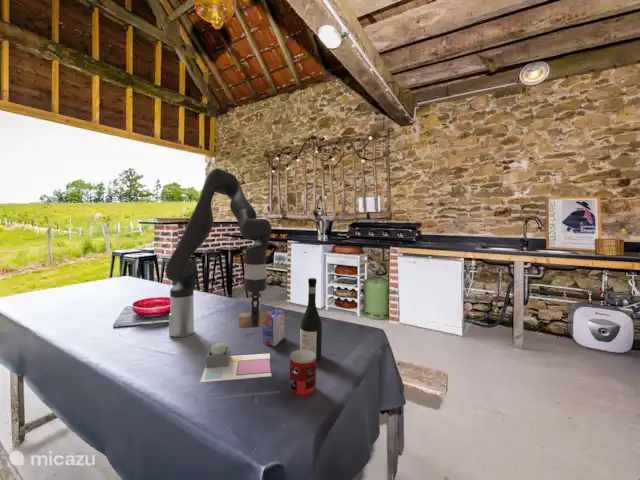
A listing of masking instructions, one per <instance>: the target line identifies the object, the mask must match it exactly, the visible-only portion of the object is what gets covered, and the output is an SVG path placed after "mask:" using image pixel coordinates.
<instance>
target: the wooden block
mask: <svg viewBox="0 0 640 480" xmlns="http://www.w3.org/2000/svg"><path fill="white" fill-rule="evenodd" d="M271 311H272V310H270V311H269V310H268V311H259V326H258V327H257V328H263V327H272V314H271ZM255 313H258V312H255ZM251 314H252V312H239V314H238V315H239V316H238V329H253V328H256V327H252V316H251Z"/></svg>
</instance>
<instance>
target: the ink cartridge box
mask: <svg viewBox="0 0 640 480" xmlns="http://www.w3.org/2000/svg"><path fill="white" fill-rule="evenodd" d="M269 311H271V314H272V327H262V344H263V345H267V346H273V347H275V346H277V344H279V343H280V342H281V341H282V340H283V339H285V311H284V310H281V309H276V308H275V307H274V306H271V307H269V308H268V312H269Z"/></svg>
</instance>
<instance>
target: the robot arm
mask: <svg viewBox="0 0 640 480" xmlns="http://www.w3.org/2000/svg"><path fill="white" fill-rule="evenodd" d="M215 193H217V194H220V195H223V196H227V197H228V198H229V199H230V205H229V207H230V210H231V212H232V214H233V216H234V217H235V218H236V220H237V223H238V226H239V227H238V228H239V232H240V233H239V234H240V235H241V236H242V238H243V239H246V240H256V242H255V244H253V245H250V246H247V247H246V248H245V253H244V257H245V258H244V260H245V261H244V262H245V264H244V272H243V273H244V278H243V279H244V290H245V291H246V292H251V293H250V294H249V303H250V304H249V305H250V307H249V308H250V310H251V313H252V314H251V316H252V327H255V328H259V327H258V326H259V312H260V310H261V302H262V293H260V292H263V291H266V290H267V281H268V280H267V279H268V278H267V276H268V275H267V273H268V272H267V271H268V270H267V249H268V245H269V242H270V238H271V236H272V225H271V223H270V221H269V220H268V219H266V218H257V213H256V211H255V209H254V207H253V206H252V204H251V203H250V202H249V201H248V199H247V198H246V196H245V194H244V192H243V189H242V187H241V185H240V182H239V180H238V179H237V177H236V176H235V174H233V173H231V172H228V171H226V170H223V169H221V168H220V167H219V168H218V167H214V168H212V169H211V170H209V172H208V174H207V175H206V178H205V181H204V184H203V187H202V190H201V192H200V195H199V198H198V201H197V202H196V206H195V207H194V209H193V212H192V214H191V216H190V218H189V220H188V222H187V224H186V227H185V229H184V231H183V234H182V236H181V238H180V240H179V242H178V243H177V246H176V248H175V250H174V251H173V253H172V255H171V256H170V257H169V259H168V261H167V263H166V267H165V268H164V269H165V270H164V271H165V276H166V278H167V279H168V280H169V281H170V282H176V283H175V284H174V285H173V286H172V287H171V289H170V290H169V296H170V297H169V298H170V299H169V301H170V303H169V304H170V307H169V308H170V309H169V310H170V311H169V312H170V313H169V314H168V336H169V337H175V338H184V337H188V336H191V335H193V334H194V332H195V320H194V319H195V316H194V315H195V312H194V310H195V308H194V305H195V304H194V303H195V302H194V300H195V299H194V291H195V289H196V283H197V282H196V280H197V267H196V264H195V261H194V260H193V258H191V257H192V256H193V254H194V253H195V252H196V251H197V250H198V249H199V248H200V247H201V246H202V245H203V244H204V243H205V242H206V240H207V238H208V237H209V235H210V234H211V230H212V228H213V227H214V215H213V210H212V203H213V202H212V201H213V198H214V195H215ZM255 312H258V313H255Z"/></svg>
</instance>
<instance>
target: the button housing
mask: <svg viewBox="0 0 640 480" xmlns="http://www.w3.org/2000/svg"><path fill="white" fill-rule="evenodd" d="M230 356H231V346H229V345H228V346H227V345H226V354H225V355H211V346H210V347H208V350H207V353H206V356H205V366H206V368H215V367H228V365H229V360H230Z"/></svg>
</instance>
